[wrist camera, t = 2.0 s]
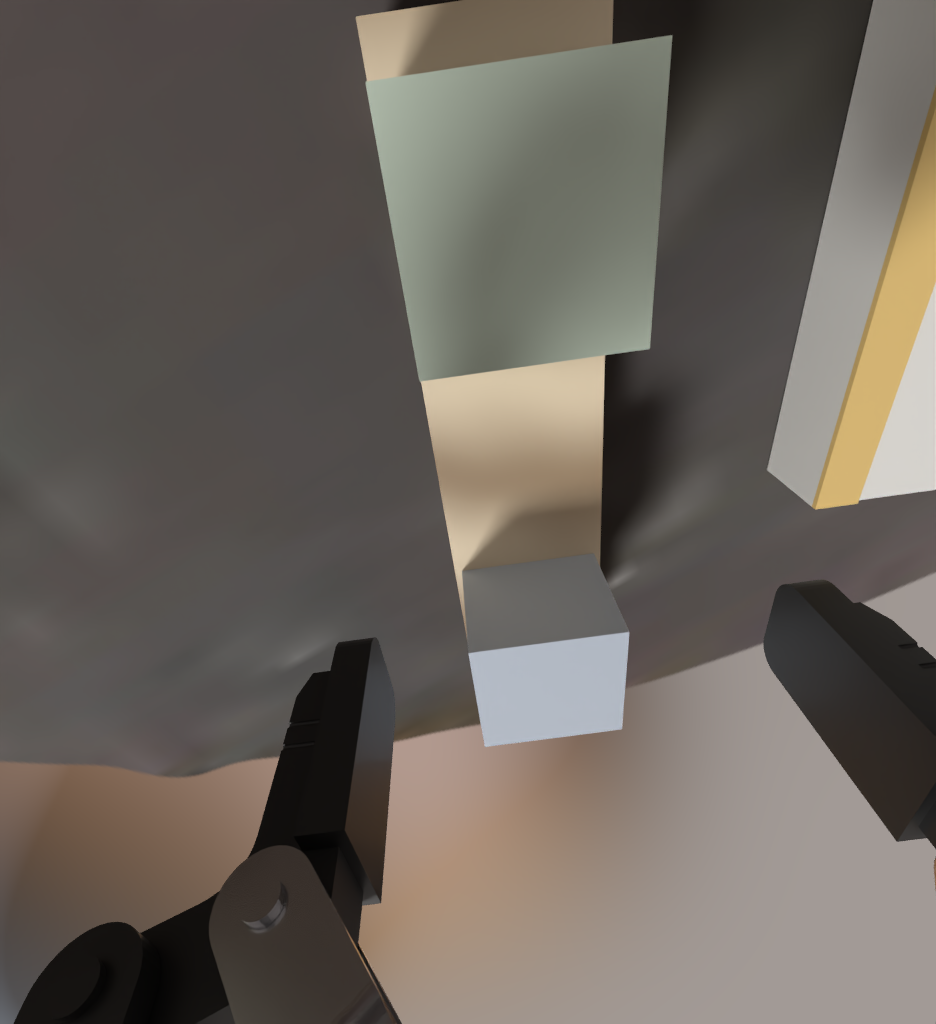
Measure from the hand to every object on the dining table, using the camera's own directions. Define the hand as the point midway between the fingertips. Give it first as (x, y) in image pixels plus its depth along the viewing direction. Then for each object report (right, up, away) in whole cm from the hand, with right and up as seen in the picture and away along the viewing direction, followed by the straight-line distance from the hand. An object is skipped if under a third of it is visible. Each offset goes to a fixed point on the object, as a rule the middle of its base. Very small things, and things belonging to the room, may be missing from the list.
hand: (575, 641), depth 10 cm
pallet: (-1, +7, +10) cm, 12 cm away
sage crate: (-1, +10, +3) cm, 10 cm away
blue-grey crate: (0, -1, +10) cm, 10 cm away
